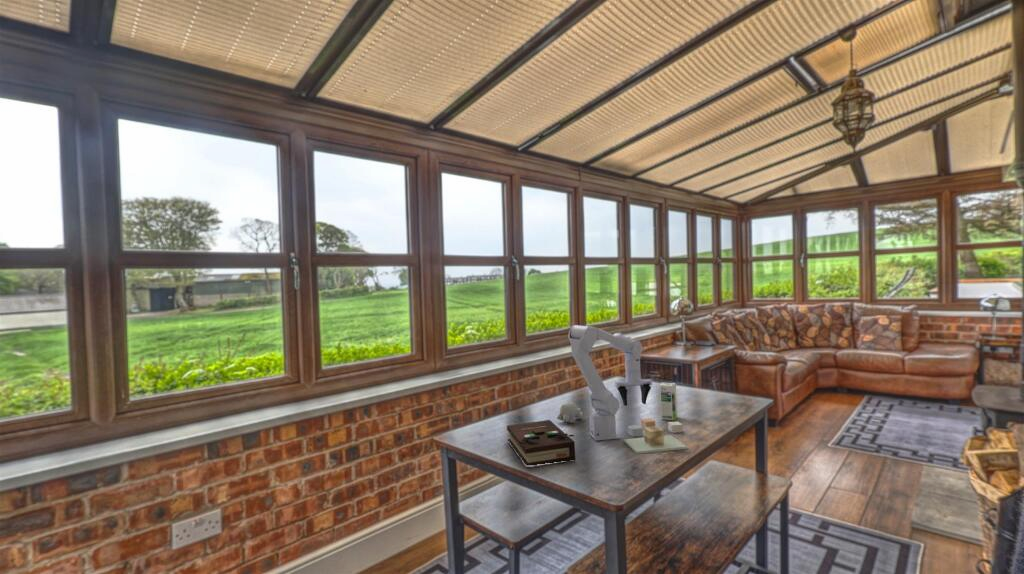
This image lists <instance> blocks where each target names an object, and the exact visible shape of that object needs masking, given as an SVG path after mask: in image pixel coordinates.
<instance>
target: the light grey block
mask: <svg viewBox="0 0 1024 574" xmlns="http://www.w3.org/2000/svg"><path fill="white" fill-rule="evenodd" d="M667 430H668V431H669V432H671V433H672V434H674V433H675V434H676V433H677V432H678V433H683V431H684V429H683V424H682V423H681V422H679V421H668V422H667Z"/></svg>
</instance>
